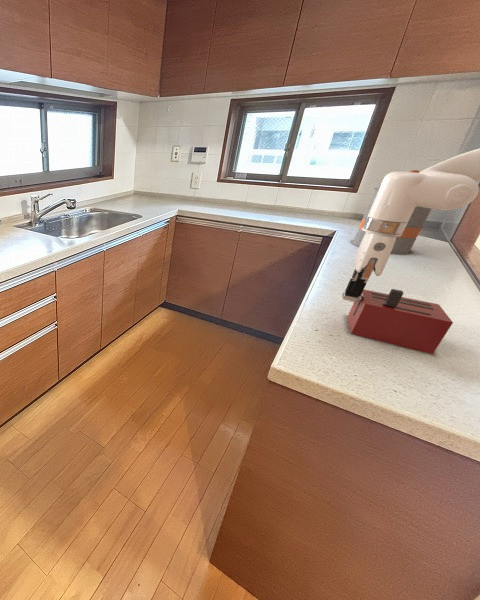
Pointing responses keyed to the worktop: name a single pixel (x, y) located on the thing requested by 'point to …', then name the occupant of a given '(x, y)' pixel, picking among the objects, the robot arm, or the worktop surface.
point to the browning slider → (393, 298)
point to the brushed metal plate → (351, 297)
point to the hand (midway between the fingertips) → (352, 294)
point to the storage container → (410, 231)
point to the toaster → (399, 321)
